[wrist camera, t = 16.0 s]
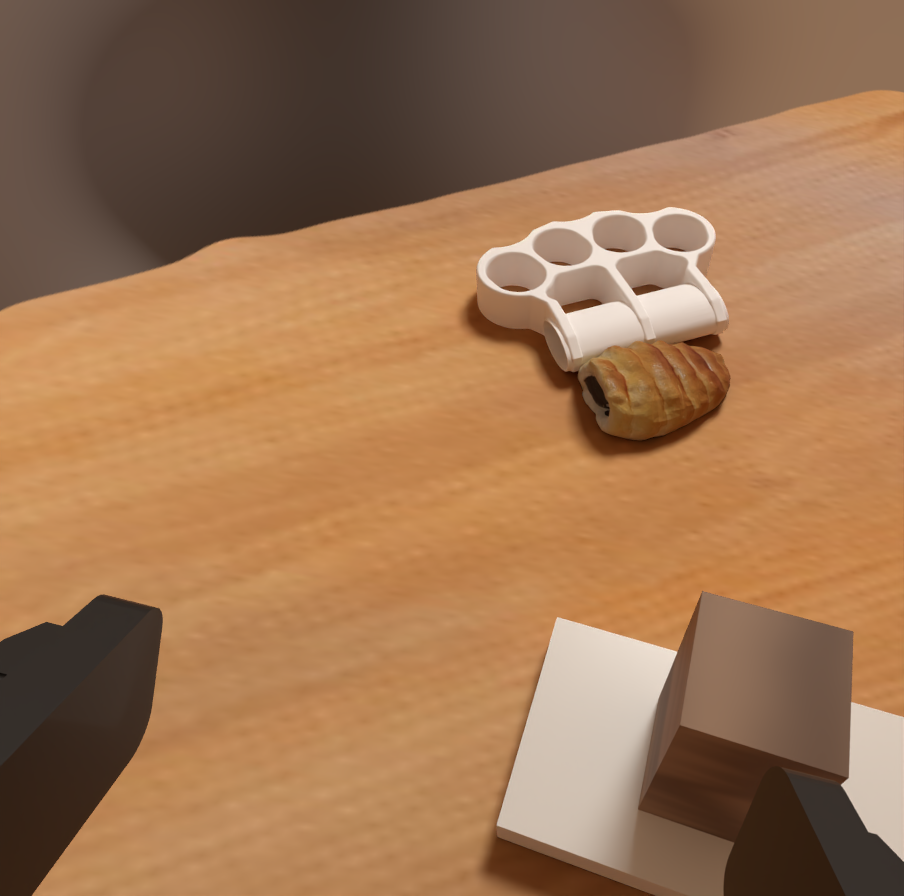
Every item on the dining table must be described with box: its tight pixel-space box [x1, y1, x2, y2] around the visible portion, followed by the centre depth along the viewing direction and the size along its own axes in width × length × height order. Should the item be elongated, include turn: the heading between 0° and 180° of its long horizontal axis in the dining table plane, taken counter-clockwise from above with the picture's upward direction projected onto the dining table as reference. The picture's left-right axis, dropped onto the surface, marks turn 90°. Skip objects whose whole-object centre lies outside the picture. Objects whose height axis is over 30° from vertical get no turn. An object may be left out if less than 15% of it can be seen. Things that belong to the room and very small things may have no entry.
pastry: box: [578, 340, 730, 440], centre depth 48 cm, size 9×7×4 cm
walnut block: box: [638, 591, 853, 843], centre depth 29 cm, size 5×5×10 cm
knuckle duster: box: [476, 207, 729, 372], centre depth 55 cm, size 3×18×15 cm
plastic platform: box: [497, 617, 904, 896], centre depth 33 cm, size 16×10×2 cm, turn 71°
